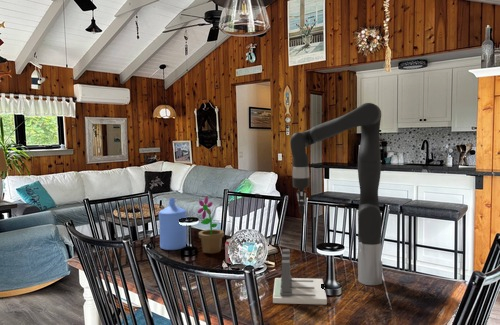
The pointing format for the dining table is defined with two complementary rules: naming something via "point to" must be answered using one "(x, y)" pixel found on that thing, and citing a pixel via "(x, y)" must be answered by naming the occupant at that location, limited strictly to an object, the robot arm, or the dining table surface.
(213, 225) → the flowerpot
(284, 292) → the near lever
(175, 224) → the water jug
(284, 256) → the middle lever
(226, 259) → the soda can
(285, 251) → the lever
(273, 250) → the washcloth
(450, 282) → the dining table surface
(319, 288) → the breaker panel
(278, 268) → the dining table surface
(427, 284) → the dining table surface
